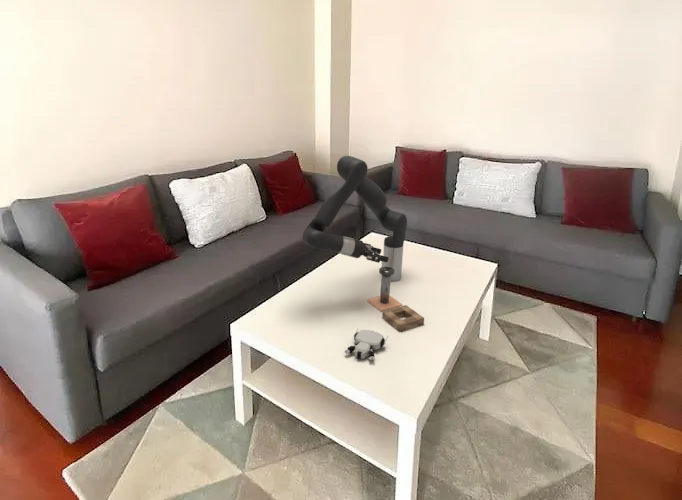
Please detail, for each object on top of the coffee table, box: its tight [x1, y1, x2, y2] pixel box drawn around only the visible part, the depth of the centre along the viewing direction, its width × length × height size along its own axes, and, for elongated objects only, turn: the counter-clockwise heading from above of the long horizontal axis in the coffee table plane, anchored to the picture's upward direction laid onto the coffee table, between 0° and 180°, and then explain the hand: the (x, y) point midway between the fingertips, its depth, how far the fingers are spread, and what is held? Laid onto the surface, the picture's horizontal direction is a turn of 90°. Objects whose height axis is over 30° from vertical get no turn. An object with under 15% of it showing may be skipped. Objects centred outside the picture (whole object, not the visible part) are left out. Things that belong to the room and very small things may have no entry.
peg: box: [378, 266, 394, 304], centre depth 198 cm, size 6×6×15 cm
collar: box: [381, 304, 425, 333], centre depth 187 cm, size 12×12×3 cm
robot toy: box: [344, 327, 389, 361], centre depth 168 cm, size 12×4×15 cm
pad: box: [366, 294, 403, 313], centre depth 201 cm, size 11×11×1 cm
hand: (384, 255), depth 195 cm, fingers open, 8 cm apart
